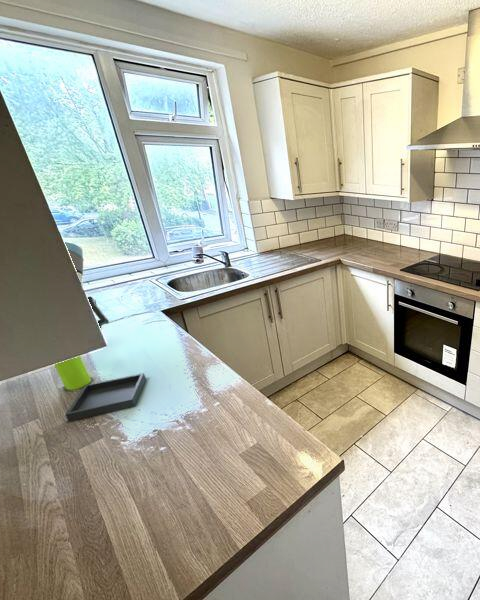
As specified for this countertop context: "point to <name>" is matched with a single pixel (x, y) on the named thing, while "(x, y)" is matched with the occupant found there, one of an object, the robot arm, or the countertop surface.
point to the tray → (106, 397)
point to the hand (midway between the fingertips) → (65, 351)
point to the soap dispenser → (73, 373)
